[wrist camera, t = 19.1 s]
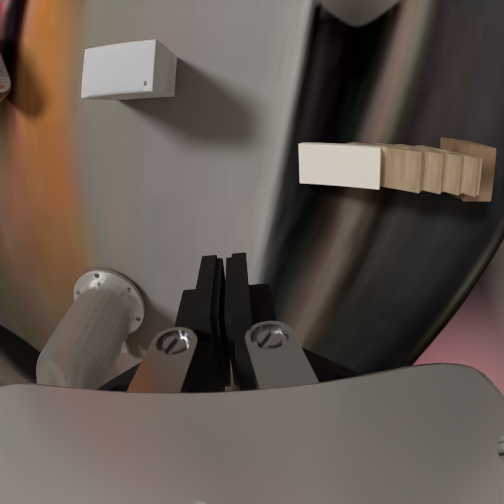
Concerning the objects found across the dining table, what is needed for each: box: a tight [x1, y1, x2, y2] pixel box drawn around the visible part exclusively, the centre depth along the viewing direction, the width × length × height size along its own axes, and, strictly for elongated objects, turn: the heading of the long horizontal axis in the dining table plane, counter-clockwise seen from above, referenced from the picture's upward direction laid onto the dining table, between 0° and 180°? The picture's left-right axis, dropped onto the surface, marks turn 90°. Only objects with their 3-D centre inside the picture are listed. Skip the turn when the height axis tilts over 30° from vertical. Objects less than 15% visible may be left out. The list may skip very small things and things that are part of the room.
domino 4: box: [394, 144, 465, 195], centre depth 35 cm, size 2×5×10 cm
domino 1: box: [298, 142, 381, 190], centre depth 36 cm, size 2×5×10 cm
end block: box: [440, 137, 496, 201], centre depth 36 cm, size 8×6×7 cm
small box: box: [81, 39, 177, 100], centre depth 28 cm, size 8×6×10 cm
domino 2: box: [346, 142, 424, 193], centre depth 35 cm, size 2×5×10 cm
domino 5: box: [416, 145, 482, 197], centre depth 34 cm, size 2×5×10 cm, turn 4°
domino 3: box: [372, 143, 446, 194], centre depth 35 cm, size 2×5×10 cm
